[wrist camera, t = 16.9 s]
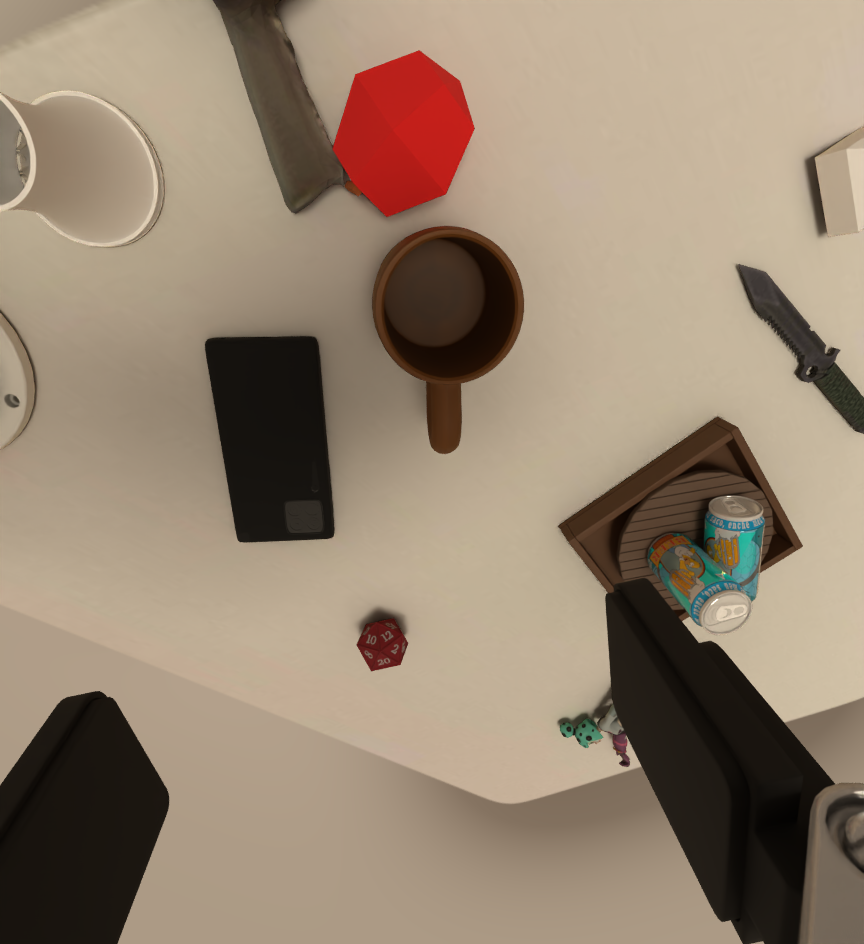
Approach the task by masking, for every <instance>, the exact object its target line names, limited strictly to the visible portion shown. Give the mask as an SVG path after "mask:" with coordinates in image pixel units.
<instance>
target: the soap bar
mask: <svg viewBox="0 0 864 944" xmlns="http://www.w3.org/2000/svg"><path fill="white" fill-rule="evenodd" d="M815 163H816V169H817V174H818V180H819V186H820V192H821V198H822V204H823V210H824V216H825V222H826V228H827V233H828V237H831V236H838V235H845V234H852V233H859V232H860V231H861V230H863V229H864V127H862V128H860V129H858V130H856V131H855V132H853V133H852V134H850V135H848V136H847V137H845V138H844V139H842V140H841V141H839V142H838V143H836V144H835V145H833V146H832V147H830V148H829V149H827V150H826V151H824V152H823V153H821V154H820V155H818V156H817V157H815Z"/></svg>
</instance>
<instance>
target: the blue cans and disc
mask: <svg viewBox="0 0 864 944" xmlns="http://www.w3.org/2000/svg"><path fill="white" fill-rule="evenodd" d="M772 534H773V517H772V509H771V507H770V505H769V503H768V501H767V499H766V498H765V495H764V493H763V492H762V491H761V490H760V489H759V488H757V487H756V486H755V485H754V484H753V483H751V482H750V481H749V480H748V479H746V478H745V477H743V476H740V475H737V474H733V473H730V472H727V471H724V470H700V471H694V472H691V473H688V474H685V475H681V476H678V477H675V478H672V479H670V480H669V481H667V482H665V483H664V484H662V485H661V486H659V487H658V488H656V489H655V490H653V491H651V492H650V493H648V494H647V495H646V497H645V498H644V499H643V500H642V501H641V502H640V503H639V504H638V505H637V506H636V507H635V508H634V510H633V511H632V512H631V513H630V515H629V517H628V519H627V521H626V523H625V525H624V527H623V529H622V531H621V532H620V535H619V541H618V547H617V554H616V558H617V562H618V567H619V572H620V576H621V577H622V579H623V580H624V582H625V581H630V580H635V579H640V578H647V579H648V580H649V581H650V582H651V583H652V584H653V586H654V587H655V588H656V589H657V591H658V592H659V593H660V594H661V596H662V597H663V598H664V599H665V601H666V602H667V603H668V605H669V606H670V607H671V608H672V610H678V609H684V610H685V611H686V612H687V614H688V615H689V616H690V617H691V618H692V620H693V621H694V622H695V623H696V624H697V625H699V626H701V627H703V628H704V629H705V630H706V631H707V632H709V633H711V634H714V635H725V634H729V633H732V632H734V631H736V630H738V629H739V628H741V627H742V626H743V625H744V624H745V623H746V622H747V621H748V619H749V618H750V616H751V613H752V602H753V600H754V599H755V598H756V597H757V594H758V585H759V576H760V567H761V562H762V560H763V559H764V557H765V555H766V553H767V552H768V548H769V544H770V542H771V538H772Z"/></svg>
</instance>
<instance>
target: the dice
mask: <svg viewBox="0 0 864 944" xmlns="http://www.w3.org/2000/svg"><path fill="white" fill-rule="evenodd" d="M407 645H408V642H407V640H406V638H405V637H404V635H403V633H402V631H401V630H400V628H399V626H398V624H397V623H396V621H395V619H394V618H392V619H388V620H383V621H378V622H374V623H369V624H366V626H365V628H364V630H363V632H362V634H361V636H360V638H359V641H358V643H357V647H358V648H359V650H360V652H361V654H362V656H363V657H364V659H365V661H366V663H367V665H368V666H369V668H370V670H371V671H375V670H379V669H384V668H388V667H393V666H397V665H401V662H402V659H403V656H404V654H405V651H406V648H407Z"/></svg>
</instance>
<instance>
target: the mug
mask: <svg viewBox="0 0 864 944" xmlns="http://www.w3.org/2000/svg"><path fill="white" fill-rule="evenodd" d="M372 309H373V318H374V323H375V327H376V330H377V333H378V335H379V338H380V339H381V342H382V343H383V345H384V347H385V349H386V351H387V352H388V354H389V355H390V356H391V358H392V359H393V360H394V361H395V362H396V363H397V364H398V365H399V366H400V367H401V368H402V369H404V370H405V371H406V372H408V373H409V374H411V375H412V376H414V377H416V378H419V379H421V380H424V381H426V400H427V424H428V435H429V440H430V444H431V447H432V448H433V449H434V451H436V452H438V453H441V454H447V453H451V452H452V451H454V450H455V449H456V448H457V447H458V445H459V442H460V438H461V425H462V408H461V383H465V382H469V381H471V380H474V379H477V378H479V377H481V376H483V375H485V374H486V373H488V372H489V371H491V370H492V369H493V368H495V367H496V366H497V365H498V364H499V363H500V362H501V361H502V360H503V359H504V358H505V357H506V355H507V354H508V353H509V351H510V350H511V348H512V347H513V345H514V343H515V341H516V339H517V337H518V334H519V332H520V328H521V324H522V321H523V313H524V297H523V289H522V285H521V281H520V278H519V276H518V273H517V271H516V269H515V267H514V265H513V263H512V262H511V260H510V259H509V258H508V256H507V255H506V254H505V253H504V252H503V251H502V249H501V248H500V247H499V246H497V245H496V244H495V243H493V242H492V241H491V240H489V239H488V238H486V237H484V236H482V235H480V234H478V233H476V232H474V231H471V230H468V229H465V228H460V227H453V226H440V227H433V228H428V229H425V230H422V231H419V232H416V233H414V234H412V235H410V236H408V237H406V238H405V239H403V240H402V241H401V242H399V243H398V244H397V245H396V246H395V247H394V248H393V249H392V250H391V251H390V252H389V253H388V255H387V256H386V257H385V259H384V261H383V263H382V264H381V267H380V269H379V271H378V274H377V277H376V281H375V284H374V290H373V297H372Z"/></svg>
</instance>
